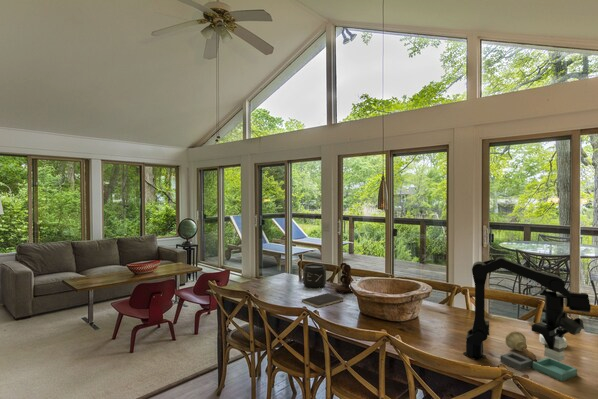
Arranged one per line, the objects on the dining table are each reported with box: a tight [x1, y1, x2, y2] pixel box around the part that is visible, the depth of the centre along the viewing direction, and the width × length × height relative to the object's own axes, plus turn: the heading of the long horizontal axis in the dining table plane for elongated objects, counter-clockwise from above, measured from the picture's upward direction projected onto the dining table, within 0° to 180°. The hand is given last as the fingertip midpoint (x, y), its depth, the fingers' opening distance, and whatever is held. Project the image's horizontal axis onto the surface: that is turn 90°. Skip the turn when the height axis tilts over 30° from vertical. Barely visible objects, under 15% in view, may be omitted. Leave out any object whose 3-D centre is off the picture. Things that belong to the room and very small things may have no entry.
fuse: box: [543, 336, 565, 362], centre depth 127 cm, size 3×5×8 cm, turn 25°
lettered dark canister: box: [302, 263, 327, 290], centre depth 255 cm, size 18×18×16 cm
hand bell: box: [504, 331, 538, 362], centre depth 139 cm, size 8×8×16 cm
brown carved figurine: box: [335, 262, 352, 294], centre depth 241 cm, size 15×15×20 cm
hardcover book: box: [301, 292, 345, 308], centre depth 217 cm, size 16×23×2 cm
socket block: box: [499, 351, 534, 372], centre depth 134 cm, size 8×8×2 cm
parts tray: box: [532, 356, 578, 382], centre depth 127 cm, size 10×10×2 cm
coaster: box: [538, 334, 568, 349], centre depth 152 cm, size 10×10×4 cm
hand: (554, 348), depth 127 cm, fingers closed on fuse, 3 cm apart
